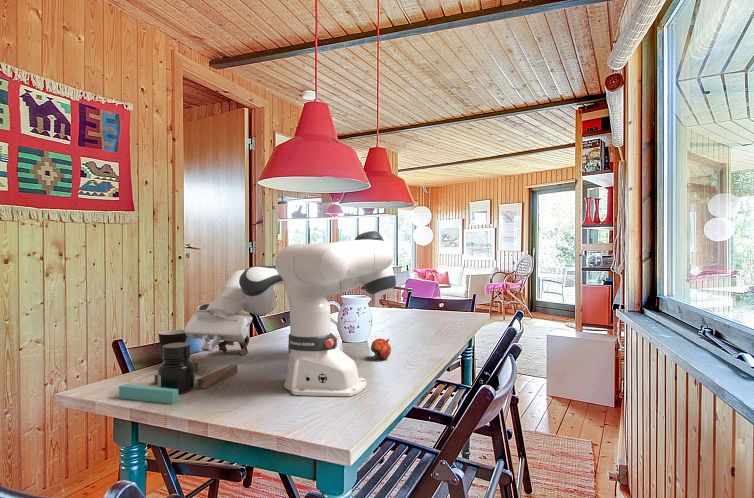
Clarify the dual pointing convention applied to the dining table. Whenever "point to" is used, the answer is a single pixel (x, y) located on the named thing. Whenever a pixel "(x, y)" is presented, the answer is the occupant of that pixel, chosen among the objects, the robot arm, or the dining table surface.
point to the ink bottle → (176, 368)
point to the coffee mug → (171, 337)
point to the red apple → (380, 348)
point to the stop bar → (148, 393)
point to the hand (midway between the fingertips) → (205, 350)
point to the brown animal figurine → (242, 344)
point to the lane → (212, 375)
